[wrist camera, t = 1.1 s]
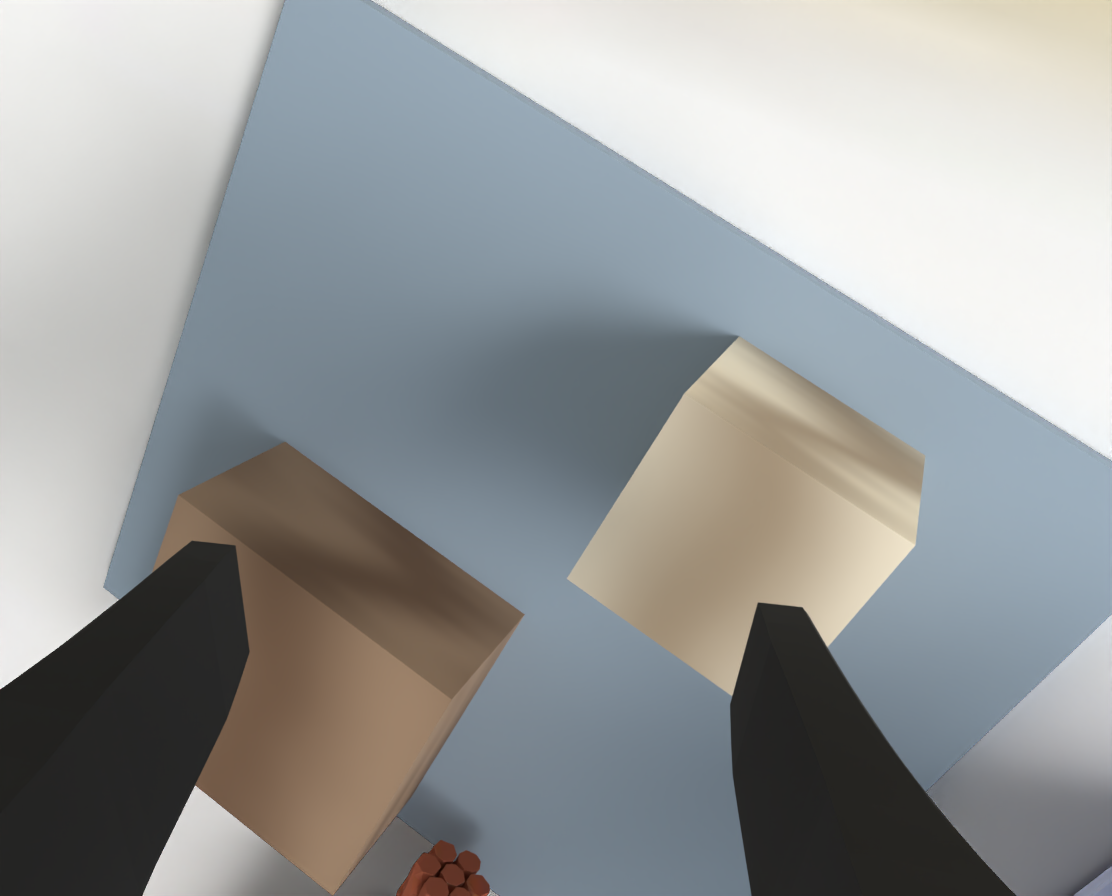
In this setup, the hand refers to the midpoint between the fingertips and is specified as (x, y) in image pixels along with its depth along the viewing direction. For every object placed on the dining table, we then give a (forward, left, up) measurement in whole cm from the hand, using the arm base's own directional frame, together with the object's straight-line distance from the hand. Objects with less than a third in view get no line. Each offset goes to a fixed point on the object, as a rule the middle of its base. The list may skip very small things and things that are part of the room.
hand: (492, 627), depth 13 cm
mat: (+2, +6, -10) cm, 11 cm away
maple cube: (-2, 0, -9) cm, 10 cm away
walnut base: (+5, +11, -9) cm, 15 cm away
